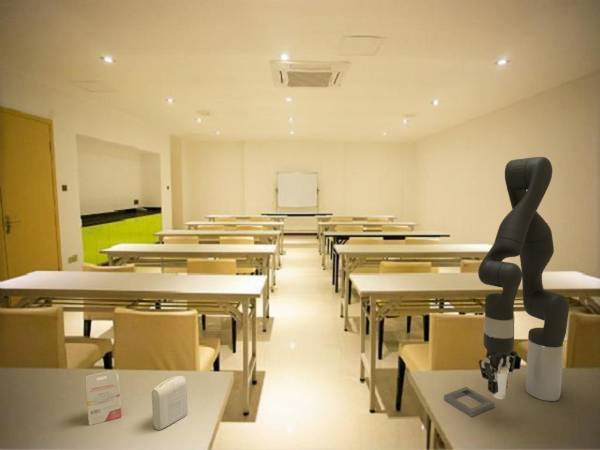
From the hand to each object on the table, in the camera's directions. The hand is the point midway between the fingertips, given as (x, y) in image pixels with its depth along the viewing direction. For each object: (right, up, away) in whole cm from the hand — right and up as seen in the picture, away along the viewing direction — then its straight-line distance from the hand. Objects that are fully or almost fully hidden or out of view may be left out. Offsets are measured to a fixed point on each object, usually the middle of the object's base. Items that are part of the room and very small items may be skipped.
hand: (497, 389), depth 107 cm
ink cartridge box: (-114, -10, +4) cm, 114 cm away
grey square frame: (-4, -8, +8) cm, 12 cm away
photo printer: (-94, -10, +3) cm, 94 cm away
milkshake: (0, -2, 0) cm, 2 cm away
